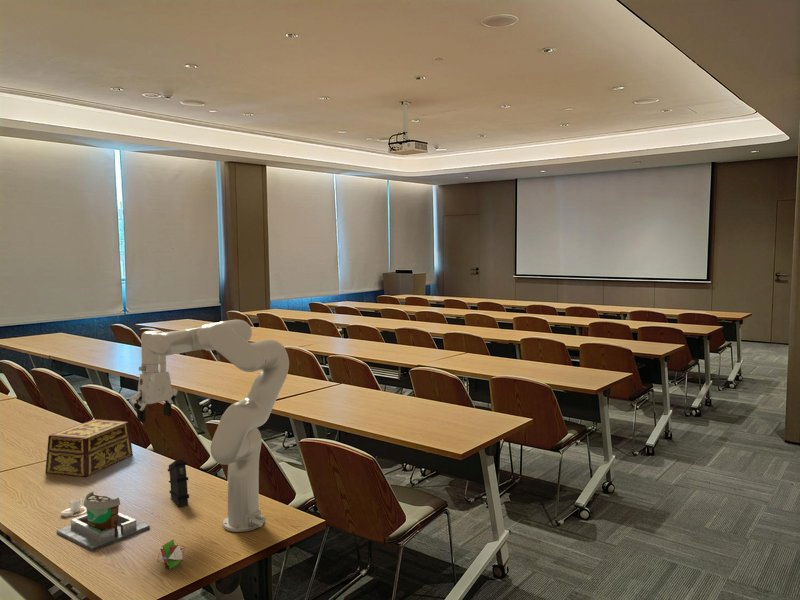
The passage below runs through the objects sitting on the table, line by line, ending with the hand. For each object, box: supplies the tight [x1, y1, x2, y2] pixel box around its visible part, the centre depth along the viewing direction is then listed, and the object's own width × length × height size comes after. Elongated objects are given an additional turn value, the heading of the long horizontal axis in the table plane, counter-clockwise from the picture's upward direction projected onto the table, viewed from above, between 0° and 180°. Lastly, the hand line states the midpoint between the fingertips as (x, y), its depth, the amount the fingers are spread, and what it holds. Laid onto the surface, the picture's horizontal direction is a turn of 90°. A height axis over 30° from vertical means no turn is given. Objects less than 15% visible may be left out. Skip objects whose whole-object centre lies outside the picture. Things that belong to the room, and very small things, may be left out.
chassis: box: [56, 511, 151, 552], centre depth 183 cm, size 20×18×4 cm
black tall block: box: [167, 458, 190, 508], centre depth 207 cm, size 4×13×15 cm, turn 35°
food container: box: [83, 491, 121, 531], centre depth 182 cm, size 12×6×10 cm, turn 66°
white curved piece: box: [60, 498, 87, 517], centre depth 197 cm, size 9×8×4 cm
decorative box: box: [45, 418, 133, 478], centre depth 243 cm, size 28×19×15 cm
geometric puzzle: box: [156, 539, 186, 571], centre depth 163 cm, size 7×7×8 cm
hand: (154, 418), depth 200 cm, fingers open, 9 cm apart
